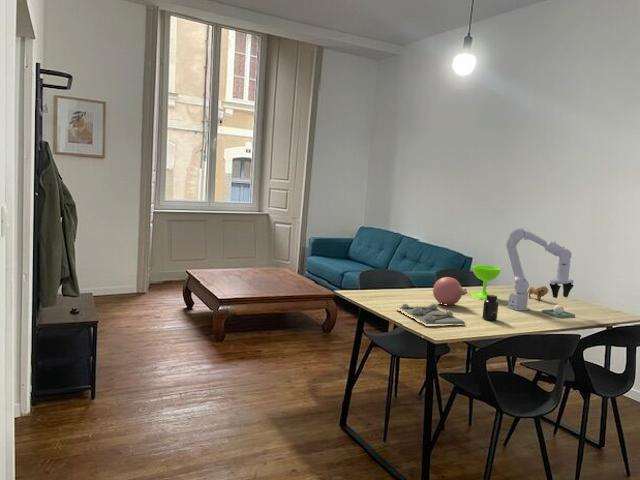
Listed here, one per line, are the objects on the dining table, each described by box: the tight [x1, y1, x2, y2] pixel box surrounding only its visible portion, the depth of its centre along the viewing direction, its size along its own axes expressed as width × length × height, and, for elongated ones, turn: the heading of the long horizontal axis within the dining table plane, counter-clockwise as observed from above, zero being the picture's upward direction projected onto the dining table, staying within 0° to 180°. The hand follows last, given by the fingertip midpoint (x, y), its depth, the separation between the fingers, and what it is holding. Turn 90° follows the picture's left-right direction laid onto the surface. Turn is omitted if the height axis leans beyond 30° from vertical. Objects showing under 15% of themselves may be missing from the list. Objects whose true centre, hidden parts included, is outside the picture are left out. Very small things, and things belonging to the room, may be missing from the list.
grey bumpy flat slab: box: [398, 302, 466, 325], centre depth 242 cm, size 30×22×7 cm
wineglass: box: [470, 264, 502, 301], centre depth 296 cm, size 16×16×18 cm
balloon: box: [432, 276, 468, 306], centre depth 269 cm, size 15×20×15 cm
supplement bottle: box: [482, 294, 499, 322], centre depth 245 cm, size 7×7×12 cm
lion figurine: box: [527, 286, 549, 302], centre depth 299 cm, size 15×5×9 cm, turn 34°
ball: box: [553, 304, 565, 314], centre depth 264 cm, size 5×5×5 cm
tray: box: [541, 308, 576, 319], centre depth 264 cm, size 11×11×1 cm
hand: (560, 297), depth 263 cm, fingers open, 7 cm apart
